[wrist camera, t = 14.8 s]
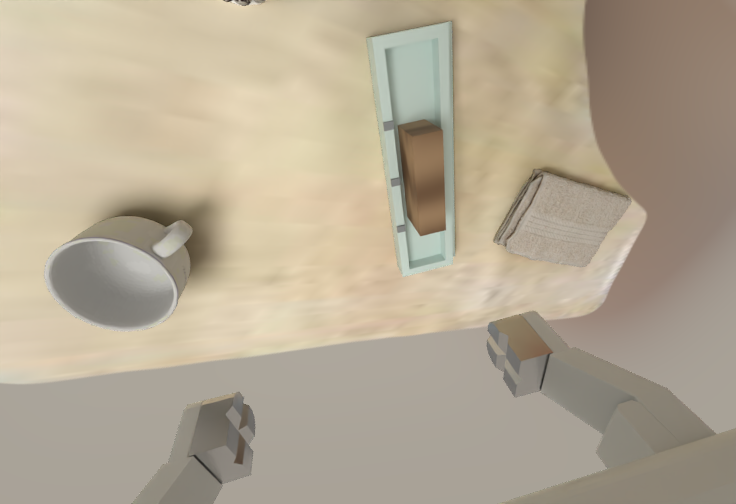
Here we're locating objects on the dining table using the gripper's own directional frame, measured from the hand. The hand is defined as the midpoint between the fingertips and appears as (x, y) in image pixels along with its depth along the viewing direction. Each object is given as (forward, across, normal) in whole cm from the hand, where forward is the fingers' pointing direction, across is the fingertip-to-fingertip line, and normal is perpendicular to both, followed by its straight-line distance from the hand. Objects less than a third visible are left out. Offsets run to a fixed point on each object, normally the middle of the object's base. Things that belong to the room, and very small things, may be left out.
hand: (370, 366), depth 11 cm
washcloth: (+30, -31, +18) cm, 47 cm away
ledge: (+29, -11, +6) cm, 32 cm away
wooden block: (+28, -10, +6) cm, 30 cm away
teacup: (+29, +20, +7) cm, 36 cm away
